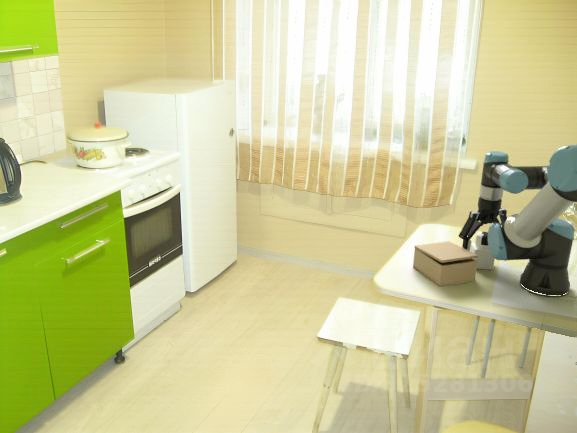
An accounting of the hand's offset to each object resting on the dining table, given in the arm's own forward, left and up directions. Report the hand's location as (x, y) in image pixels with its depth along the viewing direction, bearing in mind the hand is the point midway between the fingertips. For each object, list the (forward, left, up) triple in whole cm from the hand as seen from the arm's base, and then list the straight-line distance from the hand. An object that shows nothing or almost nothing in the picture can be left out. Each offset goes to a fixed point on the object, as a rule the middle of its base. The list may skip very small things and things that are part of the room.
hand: (481, 254), depth 215 cm
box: (-2, +17, -4) cm, 18 cm away
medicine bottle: (0, 0, -4) cm, 4 cm away
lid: (-2, +17, +4) cm, 18 cm away
